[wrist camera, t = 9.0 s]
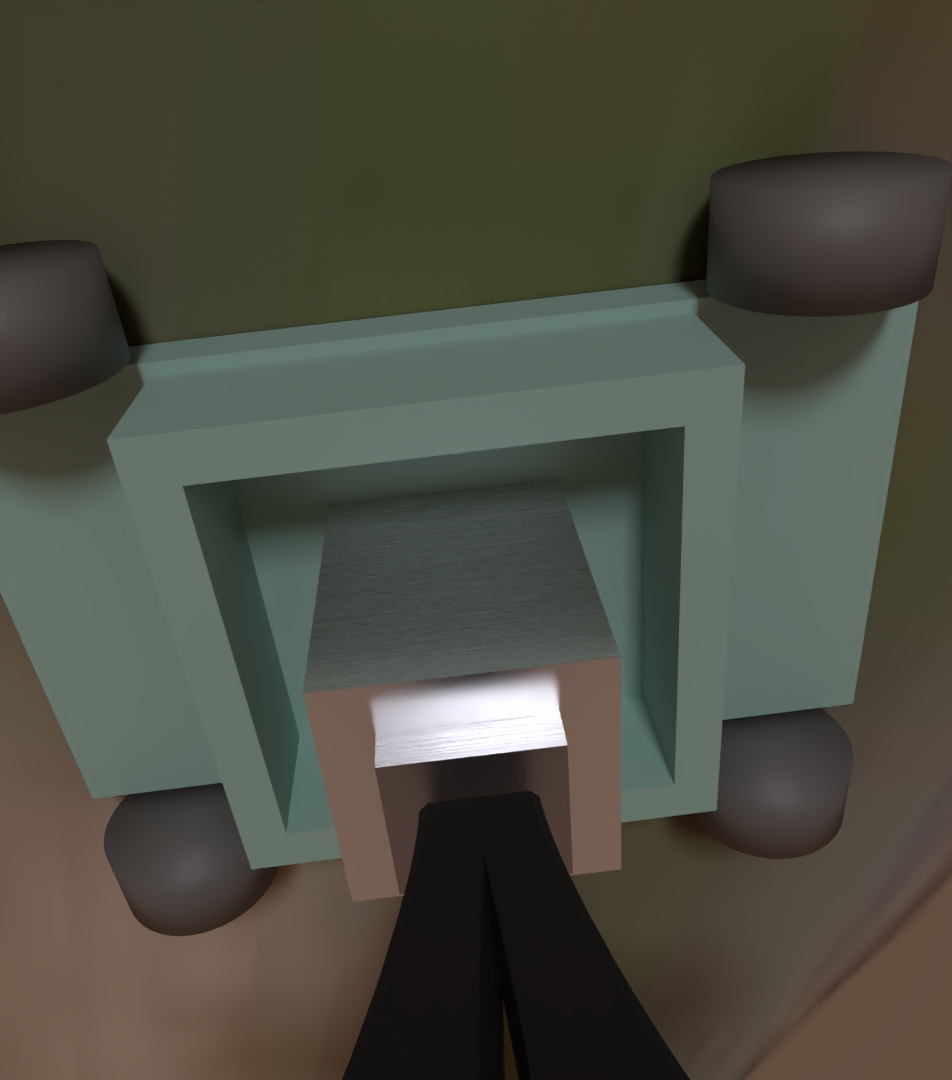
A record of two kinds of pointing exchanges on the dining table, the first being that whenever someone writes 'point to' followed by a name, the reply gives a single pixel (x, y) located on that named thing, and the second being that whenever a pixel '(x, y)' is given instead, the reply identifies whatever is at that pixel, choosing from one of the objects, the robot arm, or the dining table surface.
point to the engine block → (462, 674)
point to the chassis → (455, 464)
